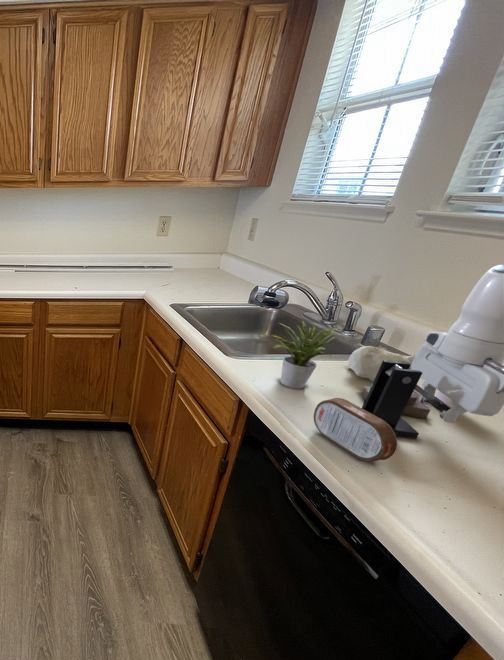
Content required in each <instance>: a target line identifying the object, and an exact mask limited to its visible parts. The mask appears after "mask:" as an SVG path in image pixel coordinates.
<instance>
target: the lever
mask: <svg viewBox="0 0 504 660" xmlns="http://www.w3.org/2000/svg"><path fill="white" fill-rule="evenodd" d="M393 368H398V369H402V368H401V367H400V366H398V365H397V364H395V365H394V366H393V367H391V368H390V369H388V370H387V371H386V372H385V373H386V374H388V375H389V376H390V375H391V372H392V370H393ZM414 391H415V392H417V393H418V394H419V395H420V396H421V395H422V396H423V397H425V398H426V399H427V402H428V403H430V404H431V406H432V407H433V408H435V409H436V410H437V411H439V412H440V413H441V414H442V411H443V410H446V411H448V410H449V409H451V407H449V406H448V405H447V404H445V403H444V402H443V401H441V400H440V399H438V398H437V397H436V395H435V396H431V395H430V394H429V393H427V392H426V391H425V390H423V389H422V387H421V386H420V385H418V384H417V385H416V387H415V389H414Z"/></svg>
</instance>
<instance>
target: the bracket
mask: <svg viewBox="0 0 504 660" xmlns="http://www.w3.org/2000/svg"><path fill="white" fill-rule="evenodd" d="M395 364H397V365H398V366H400V367H401V368H402V369H398V368H393V370H392V372H391V375H390V376H389V375H388V374H386V373H385V372H386V371H387V370H388V369H390V368H391V367H393V366H394V365H395ZM410 365H411V364H409V363H405V362H395V361H385V360H383V362H382V364H381V366H380V368H379V370H378V373H377V375H376V377H375V379H374V382H373V381H372V384H371V386H370V387H371V388H370V391H369V393H368V395H367V397H366V400H365V399H364V402H363V404H362V406H361V408H362V409H364V410H366V411H367V412H369V413H371V414H373V415H375V416H377V417H378V418H380V419H382V420H384V421H385V422H386V423H387V424H389V426H390V427H391V428H392V429H393V431H394V433H395V435H396V437H402V438H409V439H418V436H419V435H420V433H419V431H417V430H416V429H415V428H414V427H413V426H411V424H410V423H408V422H407V421H406V420H405V419H404V418H403V417H402V415H403V414H402V413H403V411H404V409H405V407H406V405H407V403H408V401H409V399H410V397H411V395H412V393H413V391H415V390H414V389H415V387H416V385H418V383H419V381H420V379H421V378H420V377H421V375H422V372H421V371H417V370H408V369H409V367H410Z"/></svg>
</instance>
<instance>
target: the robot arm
mask: <svg viewBox="0 0 504 660" xmlns="http://www.w3.org/2000/svg"><path fill="white" fill-rule="evenodd" d="M423 341H424V343H423V344H421V345H420V347H419V349H418V350H417V352H416V354H415V358H414V360H413V362H412V365H411V370H417V371H421V372H422V375H421V377H420V379H422V380H423V383H422V387H421V388H422V389H423V390H425V391H426V392H427V393H429V394H430V395H431V396H435V397H436V392H437V391H436V390H439V391H440V392H442V393H443V394H444V395H446V396H447V397H449V398H450V399H452V400H453V403H452V404H451V405H452V406H453V407H452V408H451V409H449V410H448V411H446V410H443V411H442V413H441V414H439V418H440V419H441V420H442V421H444V422H446V423H454V422H456V420H457V419H458V418H459V417H460V416H461V415H463V414H466V413H467V412H469V413H470V414H474V415H479V416H485V417H493V416H495V415H498V414H499V413H500V411H501V410H502V409H503V406H504V365H503V364H504V263H501V264H498V265H495V266H492V267H491V268H490V269H488V270H487V271H486V272H485V273H484V274H483V275H482V276H481V277H480V279H479V280H478V281H477V282H476V284H475V285H474V287H473V288H472V290H471V291H470V293H469V294H468V296H467V297H466V299H465V301H464V303H463V304H462V306H461V311H460V315H459V317H458V318H457V320H456V321H455V322H454V323H453V324H452V325H450V327H449V329H448V331H447V332H443V331H442V332H439V331H428V332H426V334H425V336H424V337H423ZM419 398H420V399H419V401H420V402H421V403H423V404H424V405H426V406H430V407H431V406H432V405H431V404H430V403H428V402H427V399H426V398H425V397H423V396H422V395H421V394H420V396H419Z"/></svg>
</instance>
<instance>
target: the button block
mask: <svg viewBox="0 0 504 660" xmlns="http://www.w3.org/2000/svg"><path fill="white" fill-rule="evenodd" d="M370 388H371V386H367V385H364V386H363V387H362V390H361V391H360V395H361V396H362V398H363V399H364V401H365V400H366V397H367V395H368V393H369V391H370ZM419 399H420V394H419V393H418V392H417V391H415V390H414V391H413V393H412V395H411V397H410V399H409V401H408V403H407V405H406V407H405V409H404V411H403V413H402V415H405V416H410V417H416V418H420V419H427V417H428V415H429V414H430V412H431V409H430V407H428V405H424V404H423V403H421V402H420V401H419Z"/></svg>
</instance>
